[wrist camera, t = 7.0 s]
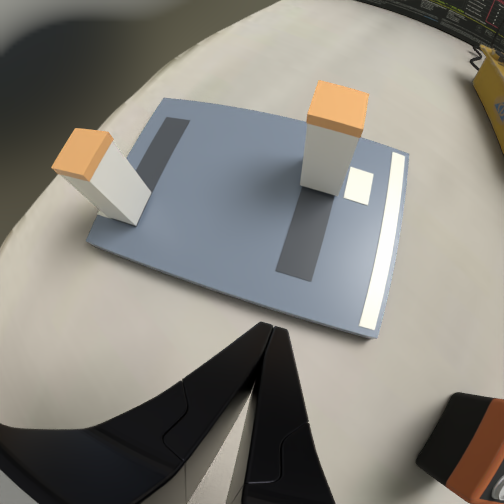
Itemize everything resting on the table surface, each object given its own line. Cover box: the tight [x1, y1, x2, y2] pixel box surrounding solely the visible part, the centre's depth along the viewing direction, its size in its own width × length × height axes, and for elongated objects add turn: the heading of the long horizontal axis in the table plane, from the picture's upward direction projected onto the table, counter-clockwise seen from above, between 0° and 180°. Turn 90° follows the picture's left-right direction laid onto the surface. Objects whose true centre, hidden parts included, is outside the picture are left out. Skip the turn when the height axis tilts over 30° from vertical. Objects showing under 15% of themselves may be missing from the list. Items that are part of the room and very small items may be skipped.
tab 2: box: [300, 80, 369, 196], centre depth 19 cm, size 3×3×8 cm
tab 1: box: [52, 128, 152, 226], centre depth 20 cm, size 3×3×8 cm
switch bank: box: [86, 98, 409, 339], centre depth 24 cm, size 16×24×2 cm, turn 71°
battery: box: [416, 392, 504, 504], centre depth 13 cm, size 4×7×10 cm, turn 149°
